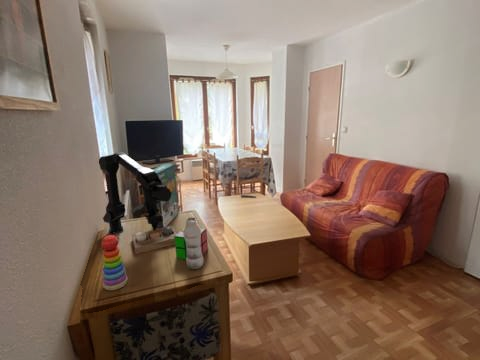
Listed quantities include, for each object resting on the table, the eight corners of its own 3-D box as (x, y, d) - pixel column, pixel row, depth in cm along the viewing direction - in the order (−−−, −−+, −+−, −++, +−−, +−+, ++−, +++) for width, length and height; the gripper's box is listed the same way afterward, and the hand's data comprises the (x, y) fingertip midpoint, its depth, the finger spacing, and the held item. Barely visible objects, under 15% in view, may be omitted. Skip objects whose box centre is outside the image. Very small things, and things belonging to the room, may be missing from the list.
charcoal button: (162, 233, 123) (162, 227, 122) (171, 231, 125) (170, 225, 124) (164, 237, 119) (163, 230, 118) (173, 234, 121) (172, 228, 120)
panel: (132, 240, 122) (131, 234, 121) (172, 231, 130) (171, 225, 129) (135, 253, 110) (135, 247, 109) (179, 242, 118) (178, 236, 117)
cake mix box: (169, 212, 155) (164, 164, 147) (178, 212, 154) (174, 164, 146) (152, 228, 134) (145, 172, 126) (163, 228, 133) (157, 173, 125)
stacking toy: (112, 294, 85) (102, 244, 80) (98, 286, 89) (89, 238, 85) (132, 281, 92) (125, 234, 87) (119, 274, 96) (111, 229, 91)
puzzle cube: (208, 249, 112) (206, 228, 109) (197, 261, 103) (195, 239, 100) (188, 246, 115) (186, 225, 113) (176, 257, 106) (173, 236, 103)
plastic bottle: (200, 272, 96) (196, 223, 90) (183, 270, 97) (179, 222, 92) (206, 262, 102) (202, 216, 97) (190, 261, 103) (186, 215, 98)
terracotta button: (150, 240, 121) (149, 233, 120) (159, 238, 123) (158, 231, 122) (151, 244, 117) (150, 237, 116) (161, 241, 119) (160, 235, 118)
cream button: (136, 239, 118) (135, 233, 117) (145, 237, 119) (145, 231, 119) (137, 243, 114) (136, 237, 113) (147, 241, 116) (146, 234, 115)
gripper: (129, 195, 119) (133, 226, 123) (133, 208, 103) (138, 243, 107) (153, 191, 124) (157, 221, 128) (161, 203, 108) (165, 236, 112)
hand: (154, 230), depth 118 cm, fingers closed
